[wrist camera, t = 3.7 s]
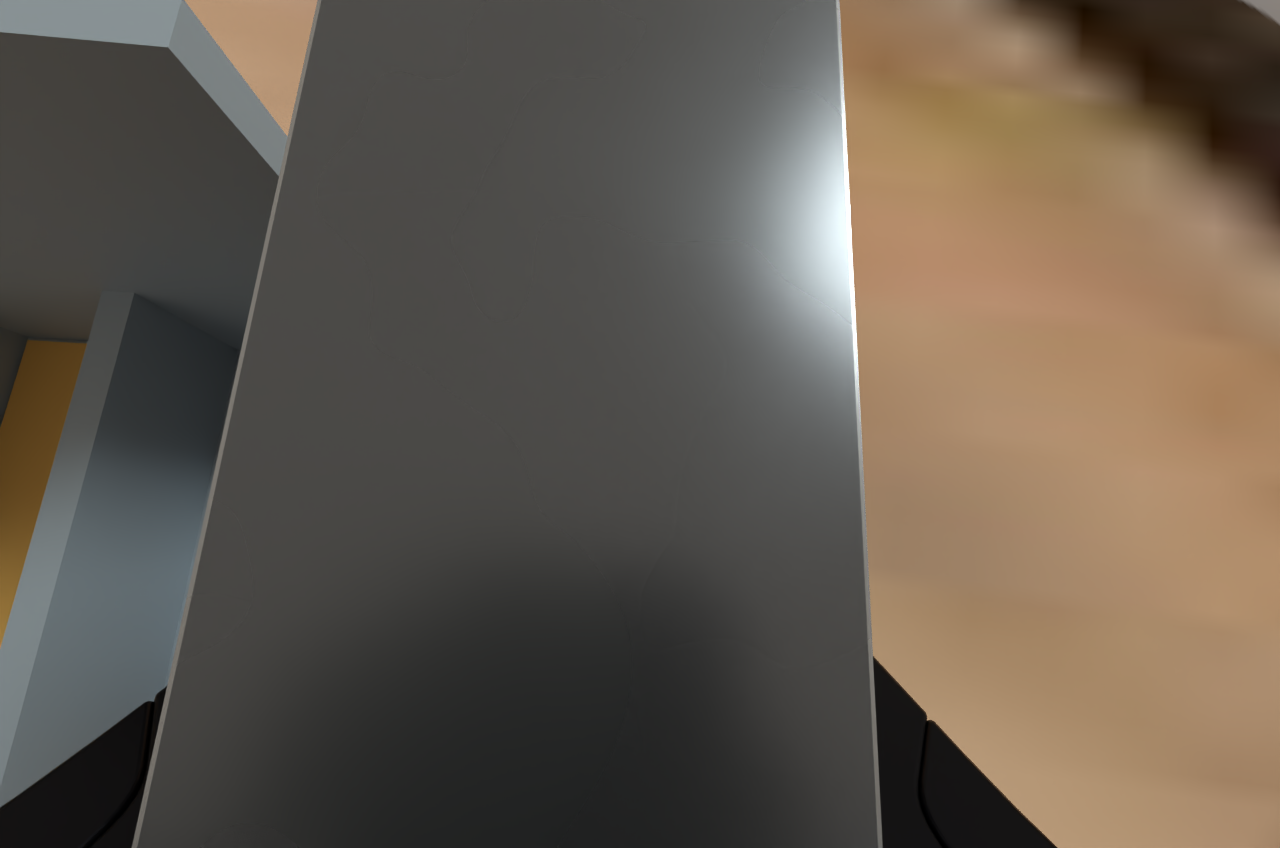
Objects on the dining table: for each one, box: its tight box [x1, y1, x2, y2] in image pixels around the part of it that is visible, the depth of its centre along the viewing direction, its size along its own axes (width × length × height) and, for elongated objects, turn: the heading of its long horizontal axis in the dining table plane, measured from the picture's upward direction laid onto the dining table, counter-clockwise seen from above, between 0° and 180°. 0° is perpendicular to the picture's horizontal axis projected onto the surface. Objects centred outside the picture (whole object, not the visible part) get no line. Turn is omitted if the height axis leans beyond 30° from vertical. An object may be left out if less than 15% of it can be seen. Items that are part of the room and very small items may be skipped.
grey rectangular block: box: [132, 0, 883, 848], centre depth 8 cm, size 7×3×12 cm, turn 178°
